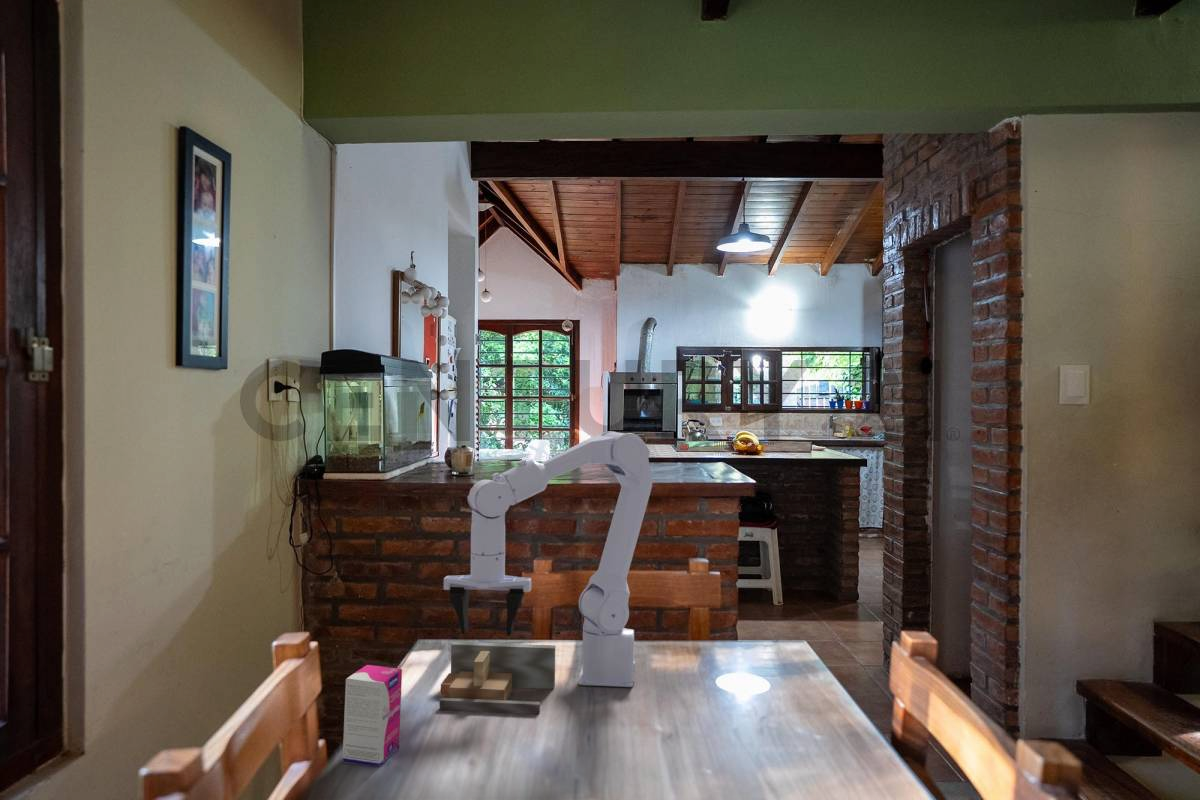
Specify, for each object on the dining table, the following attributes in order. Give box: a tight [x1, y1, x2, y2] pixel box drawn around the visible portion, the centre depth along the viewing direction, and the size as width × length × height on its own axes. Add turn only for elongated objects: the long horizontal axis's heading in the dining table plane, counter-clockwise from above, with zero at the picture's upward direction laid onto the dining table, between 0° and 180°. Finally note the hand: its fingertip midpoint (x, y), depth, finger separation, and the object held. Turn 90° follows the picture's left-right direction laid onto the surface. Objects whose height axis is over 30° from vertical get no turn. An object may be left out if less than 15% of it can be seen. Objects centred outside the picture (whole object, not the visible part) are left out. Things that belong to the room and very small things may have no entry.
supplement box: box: [341, 664, 403, 768], centre depth 100 cm, size 6×6×12 cm
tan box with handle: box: [448, 651, 513, 701], centre depth 120 cm, size 9×7×7 cm
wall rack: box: [439, 641, 556, 715], centre depth 120 cm, size 18×12×7 cm, turn 86°
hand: (487, 632), depth 121 cm, fingers open, 7 cm apart
